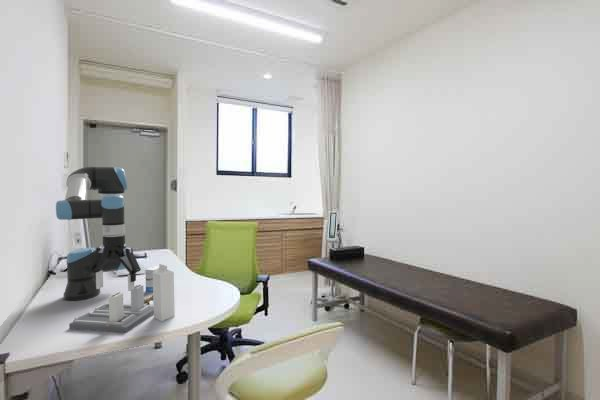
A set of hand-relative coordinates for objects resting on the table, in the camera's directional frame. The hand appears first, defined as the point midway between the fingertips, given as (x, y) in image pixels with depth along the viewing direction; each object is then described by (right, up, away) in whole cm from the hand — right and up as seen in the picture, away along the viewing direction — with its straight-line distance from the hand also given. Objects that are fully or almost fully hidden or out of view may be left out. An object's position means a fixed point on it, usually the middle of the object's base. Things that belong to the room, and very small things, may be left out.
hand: (115, 289), depth 122 cm
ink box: (-5, -13, +43) cm, 45 cm away
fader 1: (0, -12, 0) cm, 12 cm away
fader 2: (+4, -12, +10) cm, 16 cm away
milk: (+16, -14, +8) cm, 23 cm away
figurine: (+1, -14, +21) cm, 25 cm away
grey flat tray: (-3, -14, +6) cm, 16 cm away
